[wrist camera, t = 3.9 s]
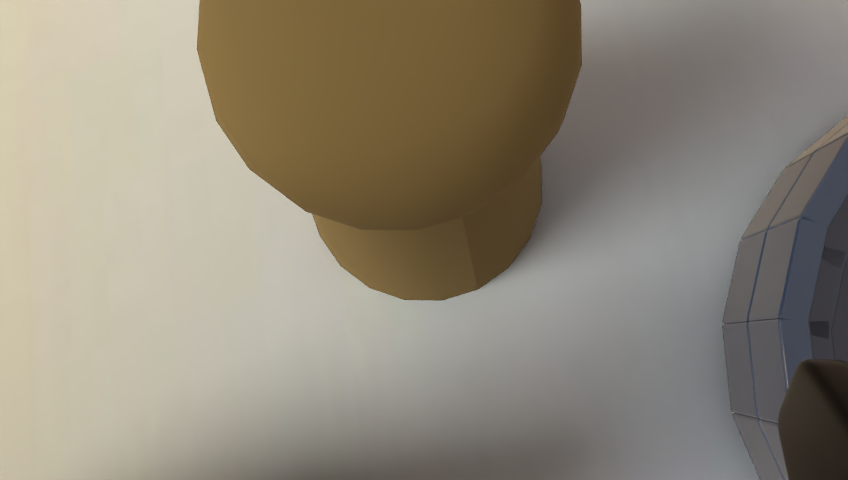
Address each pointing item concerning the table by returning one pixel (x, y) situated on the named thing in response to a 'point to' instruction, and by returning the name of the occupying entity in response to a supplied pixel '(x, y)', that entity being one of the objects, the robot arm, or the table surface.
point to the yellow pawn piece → (398, 124)
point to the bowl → (788, 293)
